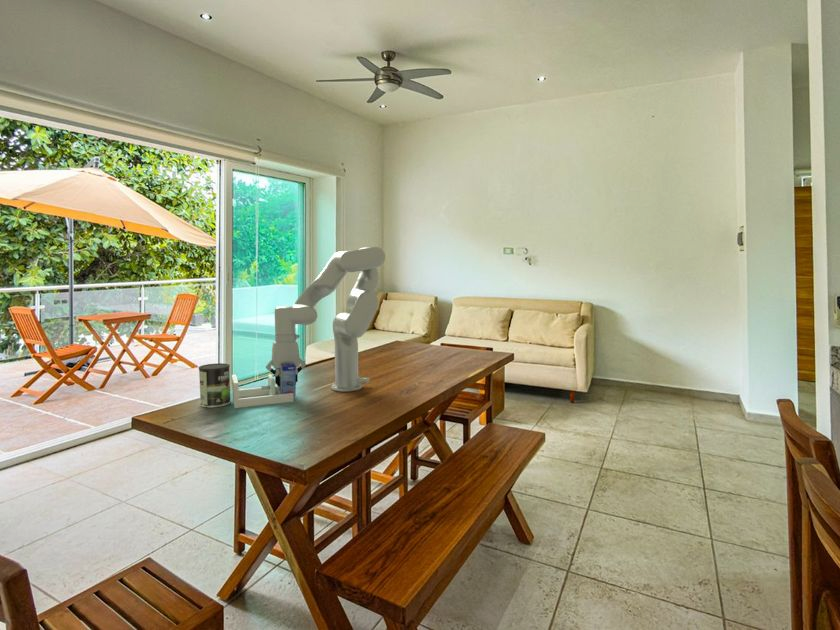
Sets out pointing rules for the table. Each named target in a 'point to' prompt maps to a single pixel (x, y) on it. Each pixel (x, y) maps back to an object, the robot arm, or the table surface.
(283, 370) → the ink cartridge box
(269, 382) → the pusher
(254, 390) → the lane
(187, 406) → the table surface
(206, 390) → the coffee can
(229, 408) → the table surface
